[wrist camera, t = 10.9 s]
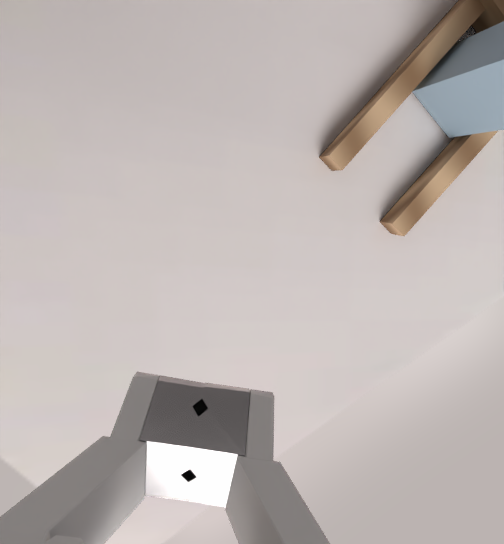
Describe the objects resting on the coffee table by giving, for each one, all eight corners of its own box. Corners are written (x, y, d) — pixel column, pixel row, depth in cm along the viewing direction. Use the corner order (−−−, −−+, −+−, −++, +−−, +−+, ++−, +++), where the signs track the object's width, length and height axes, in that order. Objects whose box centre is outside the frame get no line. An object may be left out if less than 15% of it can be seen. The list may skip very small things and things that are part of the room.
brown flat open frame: (390, 233, 37) (411, 237, 34) (319, 157, 34) (334, 154, 31) (530, 77, 36) (562, 68, 34) (468, -12, 34) (498, -30, 31)
